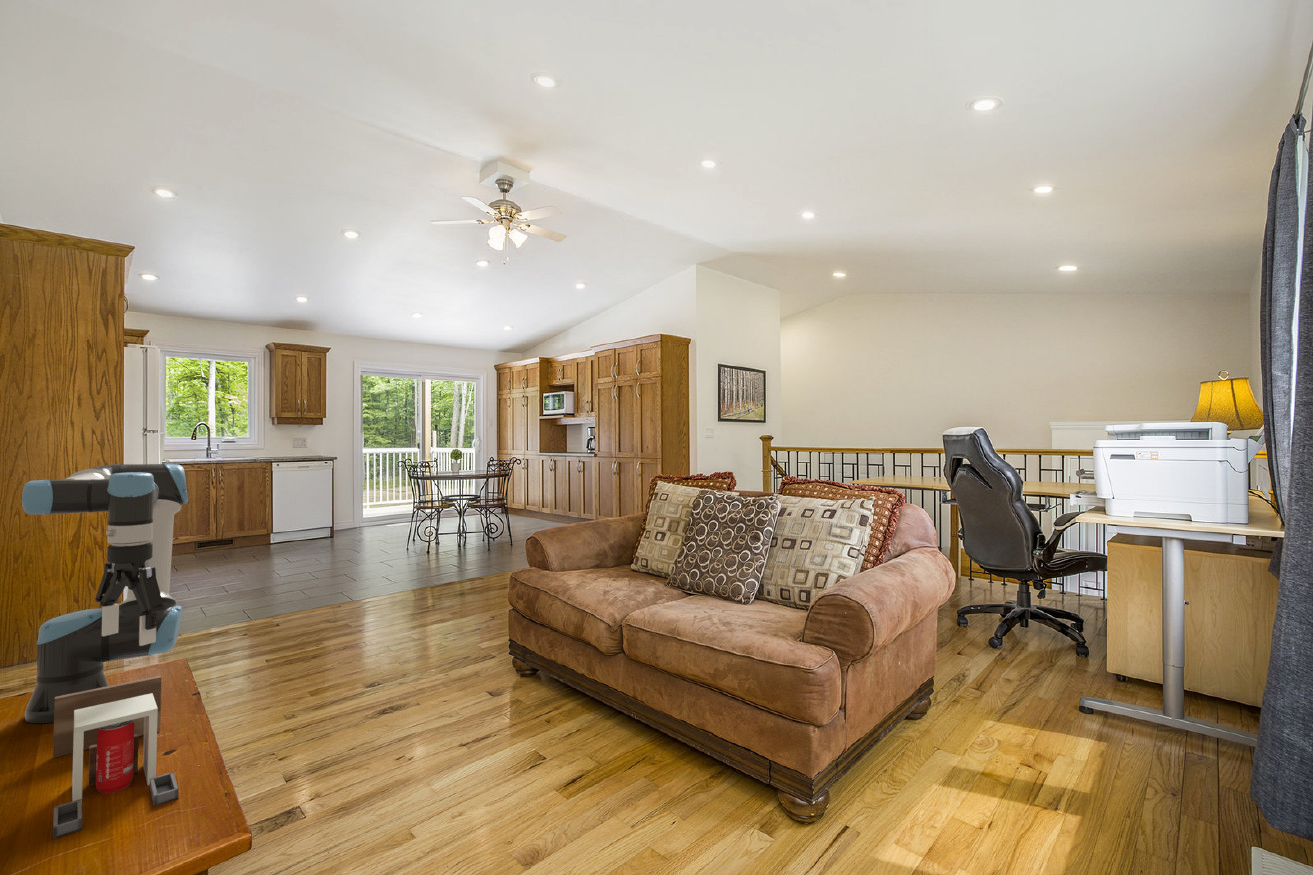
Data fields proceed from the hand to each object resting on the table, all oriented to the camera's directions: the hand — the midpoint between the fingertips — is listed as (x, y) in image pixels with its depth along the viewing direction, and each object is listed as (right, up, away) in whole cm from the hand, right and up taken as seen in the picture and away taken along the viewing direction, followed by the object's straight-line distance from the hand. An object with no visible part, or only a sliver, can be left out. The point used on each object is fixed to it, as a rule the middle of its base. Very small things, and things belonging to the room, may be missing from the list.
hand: (128, 639), depth 130 cm
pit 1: (+16, -22, -29) cm, 40 cm away
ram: (+4, -22, -9) cm, 24 cm away
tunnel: (+13, -22, -17) cm, 31 cm away
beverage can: (+14, -22, -18) cm, 32 cm away
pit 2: (+25, -22, -20) cm, 39 cm away
